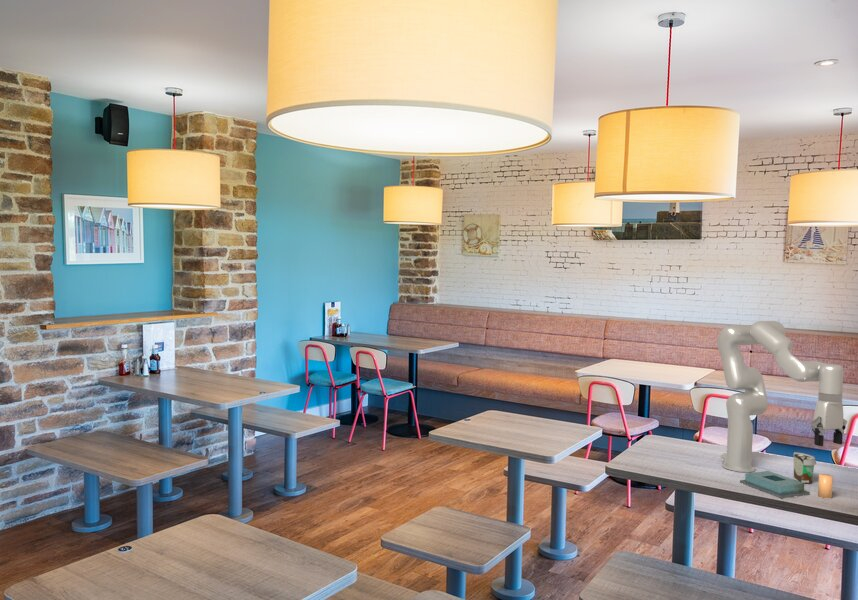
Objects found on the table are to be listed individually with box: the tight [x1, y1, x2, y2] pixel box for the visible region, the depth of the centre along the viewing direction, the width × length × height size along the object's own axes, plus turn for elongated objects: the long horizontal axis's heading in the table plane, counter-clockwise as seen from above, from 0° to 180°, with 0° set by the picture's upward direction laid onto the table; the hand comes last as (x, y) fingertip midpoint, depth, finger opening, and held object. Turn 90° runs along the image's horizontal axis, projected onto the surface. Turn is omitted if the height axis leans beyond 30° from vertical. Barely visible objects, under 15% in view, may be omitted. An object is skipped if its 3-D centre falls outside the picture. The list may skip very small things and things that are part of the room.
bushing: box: [817, 473, 834, 499], centre depth 246 cm, size 4×4×8 cm
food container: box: [792, 451, 817, 485], centre depth 265 cm, size 12×6×10 cm, turn 168°
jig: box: [739, 470, 811, 499], centre depth 254 cm, size 19×14×4 cm
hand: (828, 444), depth 245 cm, fingers open, 9 cm apart
